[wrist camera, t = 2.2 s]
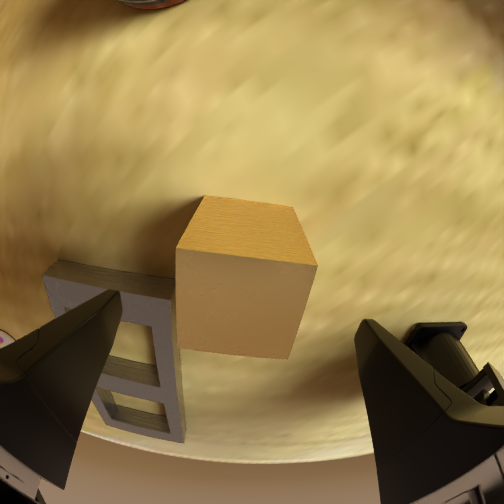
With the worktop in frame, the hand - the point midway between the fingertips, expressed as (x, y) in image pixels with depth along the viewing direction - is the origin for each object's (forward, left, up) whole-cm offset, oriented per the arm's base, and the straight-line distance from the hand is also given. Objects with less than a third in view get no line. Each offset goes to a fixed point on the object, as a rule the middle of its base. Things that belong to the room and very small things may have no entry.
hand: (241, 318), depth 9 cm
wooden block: (0, 0, -6) cm, 6 cm away
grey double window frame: (+8, +13, -6) cm, 16 cm away
